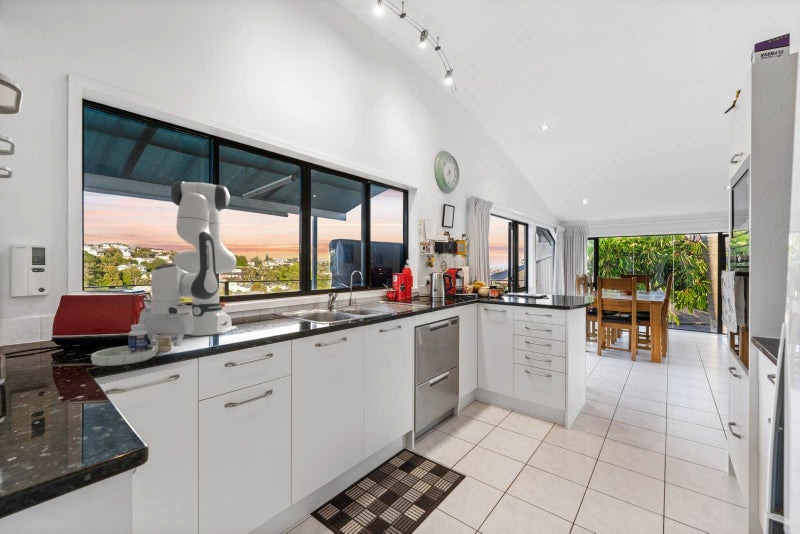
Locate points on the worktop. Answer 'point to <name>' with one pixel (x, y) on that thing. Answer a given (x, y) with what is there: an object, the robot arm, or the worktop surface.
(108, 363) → the dish
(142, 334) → the pill bottle
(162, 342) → the beech bead
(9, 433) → the worktop surface
